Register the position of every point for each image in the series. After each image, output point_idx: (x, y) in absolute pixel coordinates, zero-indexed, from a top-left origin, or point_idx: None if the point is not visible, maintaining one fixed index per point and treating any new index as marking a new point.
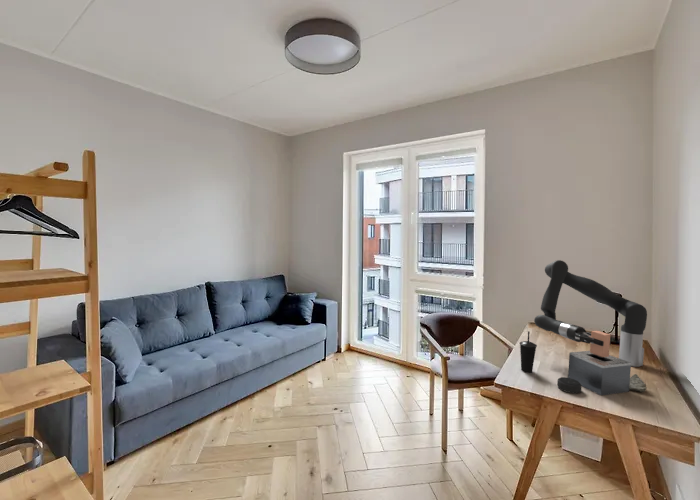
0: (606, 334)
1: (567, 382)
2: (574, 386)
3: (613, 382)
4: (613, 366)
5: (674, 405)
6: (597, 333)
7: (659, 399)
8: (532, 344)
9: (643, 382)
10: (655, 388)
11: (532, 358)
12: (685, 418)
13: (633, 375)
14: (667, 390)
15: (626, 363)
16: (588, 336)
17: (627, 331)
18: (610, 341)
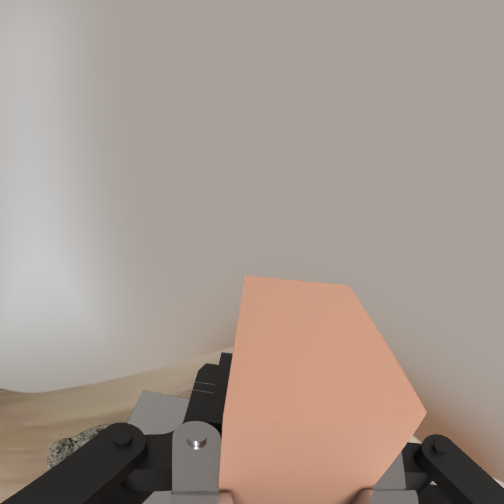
0: (292, 287)
1: (449, 501)
2: (433, 485)
3: None
4: None
5: (142, 385)
6: (378, 340)
7: (132, 411)
8: None
9: (101, 427)
10: (37, 428)
11: None
12: (206, 359)
13: (62, 455)
14: (28, 406)
15: (179, 398)
16: (408, 498)
17: None
18: (224, 353)
